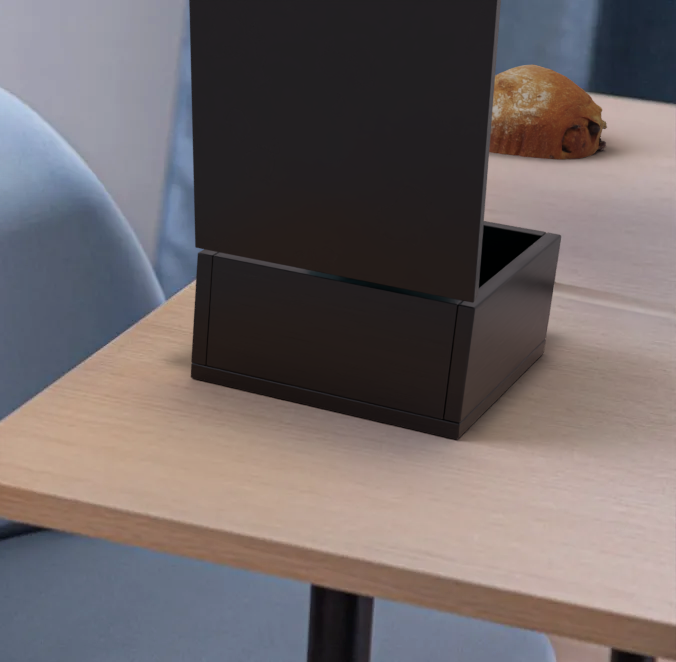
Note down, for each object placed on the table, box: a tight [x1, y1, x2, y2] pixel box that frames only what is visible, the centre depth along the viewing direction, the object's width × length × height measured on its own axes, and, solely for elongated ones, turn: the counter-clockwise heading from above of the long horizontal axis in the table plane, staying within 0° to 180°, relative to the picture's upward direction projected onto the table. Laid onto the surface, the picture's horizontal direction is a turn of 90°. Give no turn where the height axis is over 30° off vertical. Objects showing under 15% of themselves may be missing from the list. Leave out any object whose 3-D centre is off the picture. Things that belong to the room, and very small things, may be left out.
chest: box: [190, 220, 562, 440], centre depth 87 cm, size 14×14×6 cm
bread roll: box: [489, 64, 608, 160], centre depth 128 cm, size 10×10×8 cm
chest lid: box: [188, 0, 502, 303], centre depth 76 cm, size 14×14×1 cm
